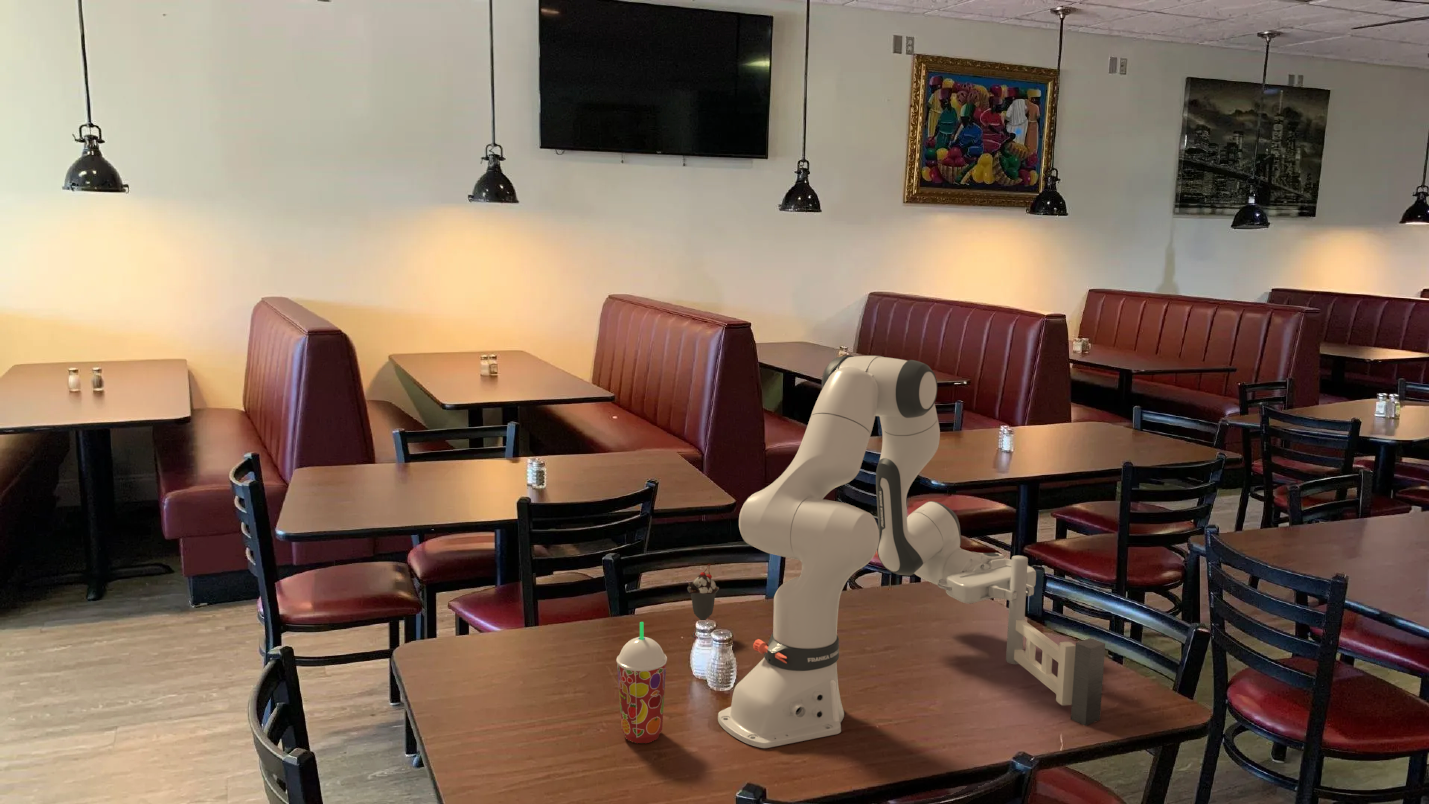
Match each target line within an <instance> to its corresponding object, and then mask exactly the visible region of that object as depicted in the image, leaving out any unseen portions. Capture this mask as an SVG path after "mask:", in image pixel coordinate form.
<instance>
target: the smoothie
mask: <svg viewBox="0 0 1429 804" xmlns="http://www.w3.org/2000/svg"><path fill="white" fill-rule="evenodd" d="M644 624H645V623H644V621H640V622H639V636H638V637H634V638H631V639H630V640H628V642H626V643H625V644H624V645H623V647H622V648H621V650H620V651H619V652H620V653H619V655H617V656H616V660H615V661H616V668H617V669H616V671H617V683H618V696H619V697H618V699H619V712H620V722H621V724H620V725H621V731H622V733H623V734H624V737H625V736H626V737H625V739H626V738H627V739H628V740H631V741H633V742H636V743H635V744H638V743H645V744H649V743H652V741H653V742H654V740H655V741H656V740H658V738H659V737H660V733H662V730H663V722H664V706H665V693H666V692H665V689H666V677H667V661H668V657H667V655H666V653H665V652H664V650H663V649H662V647H661V645H660V644H659V643H658V642H657V641H656V640H654V639H652V638H651V637H648V636H647V637H646V636H644V635H645V634H644V633H645V632H644V631H645V629H644V627H645V626H644ZM627 739H626V740H627ZM628 740H627V741H628ZM633 742H632V743H633Z"/></svg>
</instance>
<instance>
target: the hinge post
mask: <svg viewBox="0 0 1429 804" xmlns="http://www.w3.org/2000/svg"><path fill="white" fill-rule="evenodd" d="M1075 646H1076V648H1075V663H1074V678H1073V693H1072V705H1071V709H1070V711H1071V712H1070V720H1072V721H1074V722H1076V723H1079V724H1081V725H1083V726H1085V727H1086V726H1089V725H1090V724H1093V723H1096V722H1098V721H1100V720H1101V710H1102V708H1101V707H1102V697H1103V695H1102V694H1103V682H1104V667H1105V653H1106V643H1104V642H1102V641H1100V640H1096V639H1094V638H1092V637H1089V638H1086V639H1083V640H1081V641H1078V642H1075Z"/></svg>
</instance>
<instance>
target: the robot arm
mask: <svg viewBox="0 0 1429 804" xmlns="http://www.w3.org/2000/svg"><path fill="white" fill-rule="evenodd" d="M821 377H822V378H821V390H820V393H819V394H818V397H817V398H816V399H817V400H816V401H815V404H814V406H813V409H812V411H811V414H810V417H809V421H808V422H807V423H808V424H807V426H806V429H805V432H804V434H803V436H802V440H801V443H800V445H799V447H798V450H797V452H796V454H795V456H794V458H793V459H792V461H791V462H790V464H789V465H788V466H787V467H786V468H785V470H784V471H783V472H782V473H781V475H779V476H778V478H776V479H775V480H774V481H773V482H772V483H771V484H769V485H768V486H766V487H764V488H762V489H761V490H759V491H756V492H754V493H752V494H751V495H750V496H748V497H747V499H746V500H745V501H744V503H743V505H742V507H741V509H740V512H739V514H738V515H739V517H738V528H739V532H740V535H741V537H742V540H743V541H744V542H745V543H746V544H747V545H749V546H751V547H754V548H756V549H758V550H760V551H762V552H764V553H766V554H769V555H770V554H771V555H775V556H778V557H779V556H780V557H783V558H789V559H793V560H797V561H799V562H801V572H800V576H796V577H794V578H790V579H789V580H787V581H785V582H784V583H782V584H781V585H780V586H779V587H778V589H777V590H776V592H775V594H774V596H773V618H772V619H773V623H772V624H773V625H772V627H773V630H772V631H773V632H772V633H771V635H770V637H769V640H768V643H767V642H765V641H763V640H762V639H759V638H757V639H755V641H754V643H753V644H752V647H753V650H754V651H756V652H759V654H761V655H763V658H762V659H761V660H760V661H759V662H758V663H757V664H756V666H754V667H753V668H752V669H751V670H750V671H749V672H748V673H747V674H746V675H745V676H744V677H743V678H742V679H741V680H740V681H739V682H738V683H737V684H736V685H735V687H734V690H733V693H732V698H731V699H732V700H731V705H730V706H728V707H727V708H723V709H722V710H720V711H719V712H718V714H717V721H718V722H717V723H718V724H719V725H720V727H721V728H722V729H723V730H724V731H725V732H726V733H728V734H729V735H731V736H732V737H733V738H735V739H737V740H739V741H741V742H742V743H745V744H746V745H750V746H753V747H757V748H760V749H768V748H775V747H779V746H784V745H788V744H794V743H799V742H803V741H804V742H805V741H809V740H814V739H819V738H824V737H829V736H834V735H838V734H840V733H841V732H842V725H841V723H842V721H843V719H844V717H845V710H844V708H843V705H842V700H841V695H840V690H839V681H838V679H839V678H838V669H837V668H838V666H837V663H838V662H837V661H838V660H839V658H840V638H839V636H838V633H837V632H838V631H837V630H838V616H839V606H840V598H841V595H842V591H843V589H844V587H845V585H846V583H847V581H848V580H849V579H850V578H851V576H852V575H854V574H855V573H856V572H857V571H858V570H860V569H862V568H864V567H865V566H867V565H868V564H869V563H870V562H871V561H872V560H873V558H874V557H875V555H876V553H877V557H878V560H879V561H880V563H881V564H882V566H883V567H884V569H886V570H887V571H889V572H891V573H892V574H895V575H901V576H913V575H916V576H917V577H919V578H921V579H923V580H924V581H927V582H929V583H931V584H934V585H936V586H937V587H938V588H940V589H942V590H945V593H946V594H947V595H948V596H949V597H950V598H953V599H955V600H957V601H959V602H961V603H962V604H963V603H964V604H970V605H971V604H975V603H978V602H982V601H986V600H990V599H999V600H1001V599H1002V600H1006V601H1012V600H1015V599H1017V596H1016V595H1017V592H1016V591H1015V590H1012V589H1010V580H1011V562H1012V558H1011V559H1010V558H1005V555H1004V554H1002V553H999V552H976V551H969V550H966V549H963V548H961V547H960V546H961V544H962V538H961V537H962V536H961V535H962V534H961V525H960V522H959V521H960V520H959V518H958V516H957V513H955V512H954V511H953V510H952V509H951V508H949V507H948V506H946V505H945V504H943V503H941V502H938V501H935V500H934V501H933V500H930V501H926V502H925V503H924V504H922V505H920V507H918V508H916V509H915V510H913V511H912V512H911V513H910V514H908V509H907V497H908V493H909V490H910V487H911V486H912V484H913V482H914V481H915V479H916V478H917V477H918V475H919V474H920V473H921V471H922V470H923V469H924V468H925V467H926V466H927V465H928V463H929V462H930V461H931V460H932V459H933V457H934V456H935V454H936V453H937V451H938V448H939V445H940V440H941V439H940V438H941V437H940V436H941V430H940V429H941V428H940V423H939V418H938V413H937V408H936V404H935V403H936V401H937V400H936V399H937V395H938V380H937V379H938V378H937V376H936V374H935V372H934V371H933V370H932V368H931V367H930V366H929V365H928V364H926V363H924V362H921V361H919V360H914V359H908V360H906V359H900V358H895V357H894V358H893V357H887V356H886V357H884V356H881V355H856V356H855V355H850V354H849V355H840V356H837V357H834V358H833V359H831V361H830V362H829V363H828V364H827V365H826V367H825V369H824V371H823V373H822V376H821ZM876 417H879V421H880V425H881V434H882V439H881V440H882V442H881V451H880V455H879V456H880V457H879V460H878V463H877V467H876V471H875V491H876V493H875V494H876V506H877V507H876V508H877V520H876V518H875V517H874V515H873V514H871V513H870V512H868V511H866V510H864V509H861V508H860V507H856V506H855V505H851V504H849V503H846V502H841V501H837V500H836V501H835V500H829V499H824V498H825V497H826V496H827V495H828V494H829V493H830V492H831V491H833V490H834V489H835V488H838V487H840V486H843V485H846V484H849V483H850V482H851V481H853V480H854V479H855V478H856V477H857V475H858V474H859V473H860V470H861V467H862V463H863V462H864V461H863V460H864V457H865V455H866V450H867V448H868V446H869V445H868V444H869V441H870V439H871V435H872V431H873V427H874V423H875V420H876ZM1036 581H1037V571H1036V570H1035V568H1033V567H1032V566H1030V565H1028V567H1027V584H1026V597H1031V596H1033V595H1034V593H1035V586H1036Z"/></svg>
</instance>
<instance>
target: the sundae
mask: <svg viewBox="0 0 1429 804" xmlns="http://www.w3.org/2000/svg"><path fill="white" fill-rule="evenodd" d="M711 565H712V564H711V563H708V564H707V566H706V569H705V570H704V571H702V572H700V573H699V575H697V576H696V578H694V580H693V581H690V582H688V586H687V588H686V589H687V592H688V594H689V595H690V596H691V605H692V611H693V614H694V615H695V617H697V618H698V619H699V621H700V620H706V621H707V619H708V618H710V616H711V615H712V614H713V611H714V605H715V600H716V599H715V598H716V594H717V593H718V591H719V590H720V587H719V586H717V585H716V582H715V581H714V580H713V579H712V578H713V576H712V574H711V573H710V571H708V573H707V574H706V573H705V572H706V571H707V570H708V569H709V568H710V566H711ZM692 632H693V631H692ZM692 637H693V638H695V637H694V632H693V636H692Z"/></svg>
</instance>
